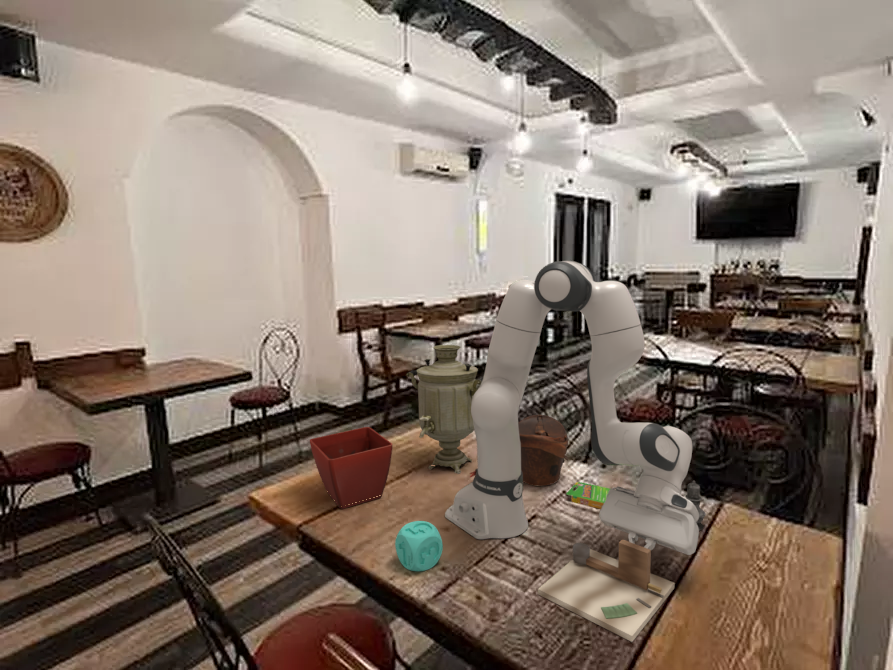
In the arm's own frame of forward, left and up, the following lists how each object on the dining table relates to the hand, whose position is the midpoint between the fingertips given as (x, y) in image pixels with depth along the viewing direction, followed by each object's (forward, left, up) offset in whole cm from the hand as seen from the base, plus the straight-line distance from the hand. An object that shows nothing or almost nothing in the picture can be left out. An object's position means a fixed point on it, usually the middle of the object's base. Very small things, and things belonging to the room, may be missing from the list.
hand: (635, 557), depth 109 cm
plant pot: (-79, -15, -6) cm, 81 cm away
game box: (-21, +29, -6) cm, 36 cm away
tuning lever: (-3, -3, -4) cm, 6 cm away
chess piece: (+1, +31, -6) cm, 31 cm away
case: (-44, +30, -6) cm, 53 cm away
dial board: (-3, -7, -5) cm, 9 cm away
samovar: (-73, +17, -6) cm, 75 cm away
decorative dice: (-40, -25, -6) cm, 47 cm away
